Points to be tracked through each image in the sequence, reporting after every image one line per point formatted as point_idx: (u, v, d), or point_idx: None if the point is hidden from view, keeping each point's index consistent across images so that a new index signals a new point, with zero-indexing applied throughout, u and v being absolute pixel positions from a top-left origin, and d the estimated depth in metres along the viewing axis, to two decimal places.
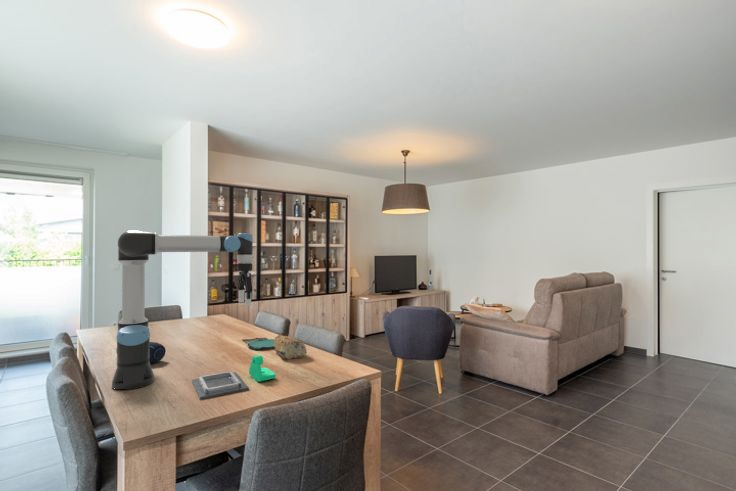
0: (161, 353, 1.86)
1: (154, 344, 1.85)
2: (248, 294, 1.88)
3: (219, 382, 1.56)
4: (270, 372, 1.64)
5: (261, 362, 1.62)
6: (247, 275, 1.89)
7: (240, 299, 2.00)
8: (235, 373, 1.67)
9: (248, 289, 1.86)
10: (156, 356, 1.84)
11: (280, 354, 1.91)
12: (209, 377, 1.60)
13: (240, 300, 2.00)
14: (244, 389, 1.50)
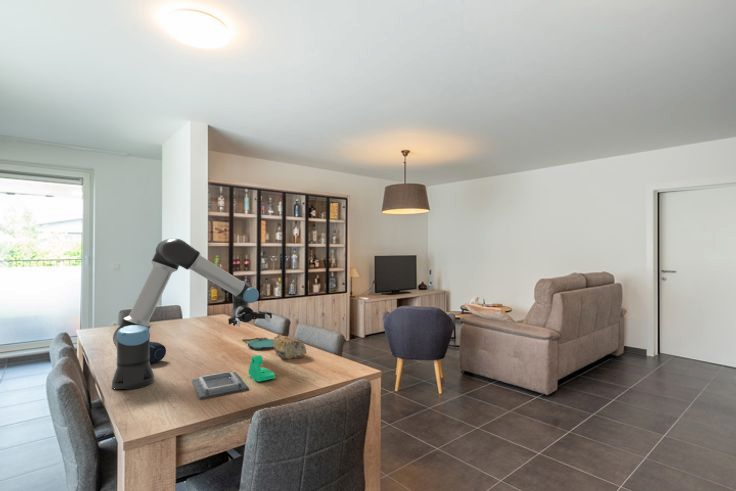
0: (161, 353, 1.86)
1: (155, 344, 1.86)
2: None
3: (219, 382, 1.56)
4: (269, 372, 1.64)
5: (261, 362, 1.62)
6: None
7: None
8: (235, 373, 1.67)
9: None
10: (157, 356, 1.84)
11: (280, 354, 1.91)
12: (209, 377, 1.60)
13: None
14: (244, 389, 1.50)
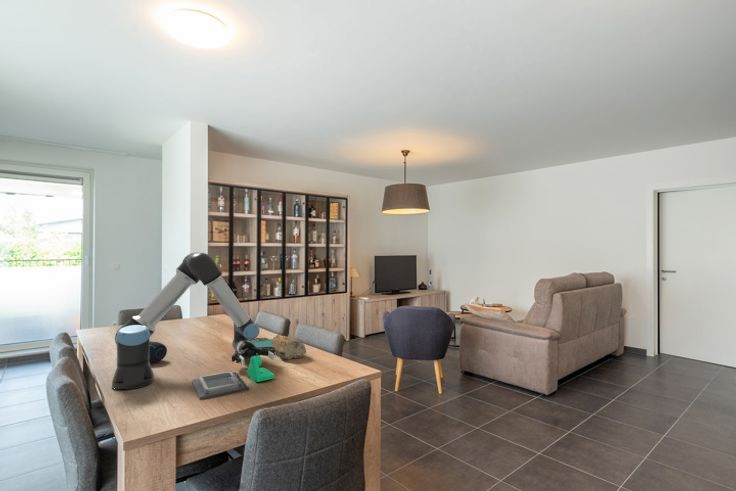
0: (162, 353, 1.87)
1: (155, 344, 1.86)
2: None
3: (219, 382, 1.56)
4: (268, 372, 1.64)
5: (259, 362, 1.62)
6: None
7: None
8: (235, 373, 1.67)
9: None
10: (157, 356, 1.85)
11: (280, 354, 1.91)
12: (209, 377, 1.60)
13: None
14: (244, 389, 1.50)
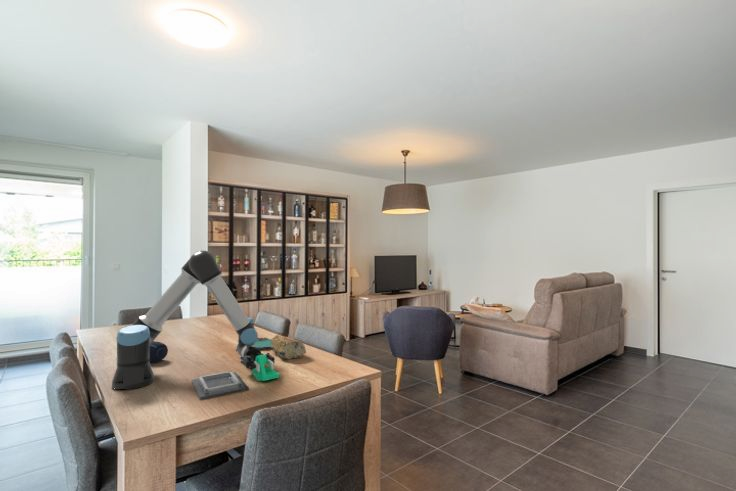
0: (163, 352, 1.88)
1: (156, 343, 1.87)
2: None
3: (219, 382, 1.56)
4: (274, 371, 1.65)
5: (265, 361, 1.62)
6: None
7: None
8: (235, 373, 1.67)
9: None
10: (158, 355, 1.85)
11: (280, 354, 1.90)
12: (209, 377, 1.60)
13: None
14: (244, 389, 1.50)
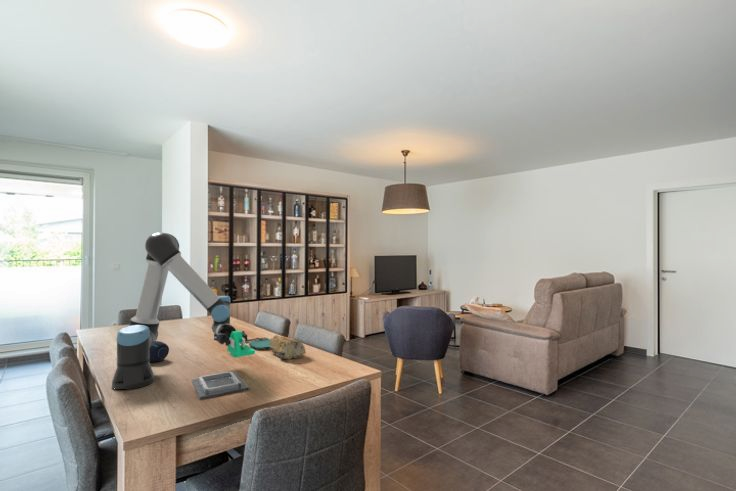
0: (164, 352, 1.88)
1: (158, 343, 1.87)
2: None
3: (219, 382, 1.56)
4: (249, 348, 1.59)
5: (240, 338, 1.56)
6: (244, 333, 1.70)
7: None
8: (235, 373, 1.67)
9: None
10: (160, 355, 1.86)
11: (279, 355, 1.90)
12: (209, 377, 1.60)
13: None
14: (244, 389, 1.50)
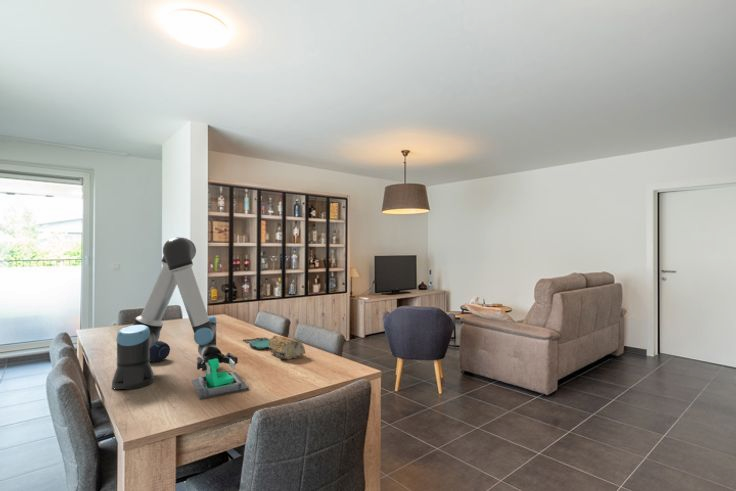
0: (165, 352, 1.89)
1: (159, 343, 1.88)
2: None
3: None
4: (228, 376, 1.54)
5: (217, 366, 1.52)
6: None
7: (209, 367, 1.50)
8: (235, 373, 1.67)
9: None
10: (161, 354, 1.87)
11: (279, 355, 1.90)
12: None
13: None
14: (244, 389, 1.50)
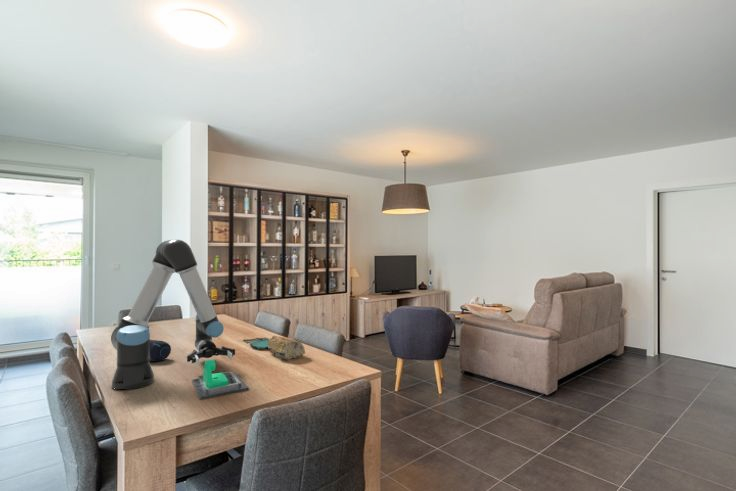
0: (166, 351, 1.90)
1: (160, 342, 1.89)
2: (231, 353, 1.72)
3: None
4: (223, 378, 1.53)
5: (213, 367, 1.52)
6: None
7: None
8: (235, 373, 1.67)
9: None
10: (162, 354, 1.88)
11: (279, 355, 1.89)
12: None
13: (198, 360, 1.60)
14: (244, 389, 1.50)
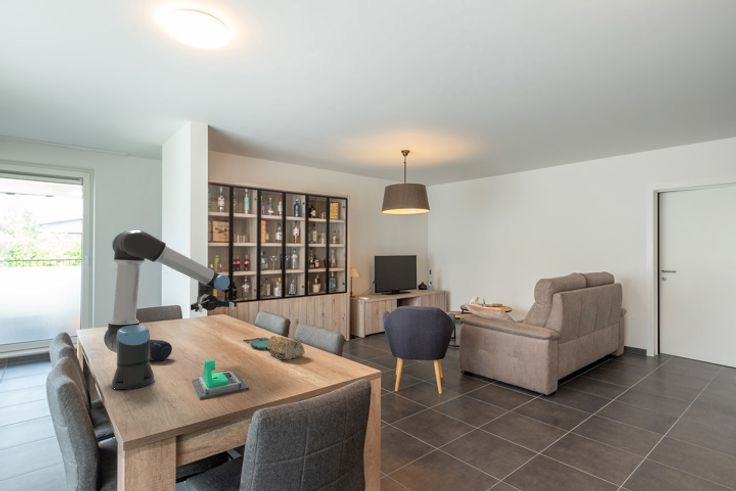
0: (167, 351, 1.90)
1: (161, 342, 1.89)
2: None
3: None
4: (223, 378, 1.54)
5: (213, 367, 1.52)
6: None
7: (201, 307, 1.67)
8: (235, 373, 1.67)
9: None
10: (163, 354, 1.88)
11: (279, 355, 1.89)
12: None
13: (201, 307, 1.66)
14: (244, 389, 1.50)
